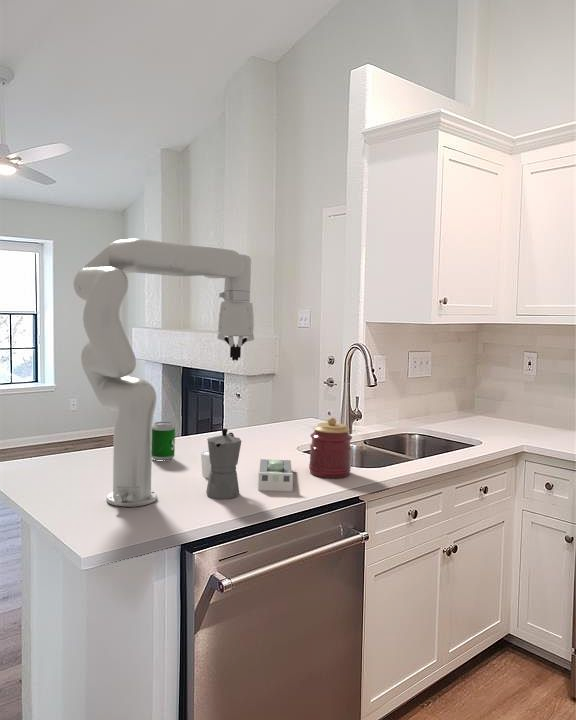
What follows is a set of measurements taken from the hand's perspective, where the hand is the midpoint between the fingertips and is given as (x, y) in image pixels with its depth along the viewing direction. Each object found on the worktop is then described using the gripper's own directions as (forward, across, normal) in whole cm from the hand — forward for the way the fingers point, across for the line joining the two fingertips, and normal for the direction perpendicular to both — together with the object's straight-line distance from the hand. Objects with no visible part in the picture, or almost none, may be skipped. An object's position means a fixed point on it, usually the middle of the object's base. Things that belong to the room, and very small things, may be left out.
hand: (235, 360), depth 179 cm
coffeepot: (+35, -1, -16) cm, 39 cm away
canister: (+35, +30, +8) cm, 47 cm away
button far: (+34, +13, +6) cm, 37 cm away
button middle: (+33, +13, -1) cm, 35 cm away
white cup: (+35, -6, +1) cm, 36 cm away
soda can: (+35, -24, +19) cm, 47 cm away
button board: (+35, +13, 0) cm, 37 cm away
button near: (+34, +13, -8) cm, 37 cm away
